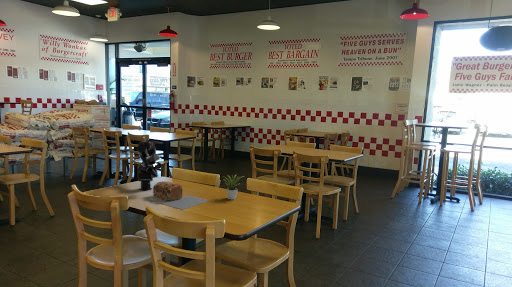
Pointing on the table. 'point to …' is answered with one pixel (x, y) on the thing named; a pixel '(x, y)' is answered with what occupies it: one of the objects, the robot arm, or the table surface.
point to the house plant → (232, 187)
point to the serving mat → (185, 202)
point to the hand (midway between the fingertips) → (157, 176)
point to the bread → (168, 191)
